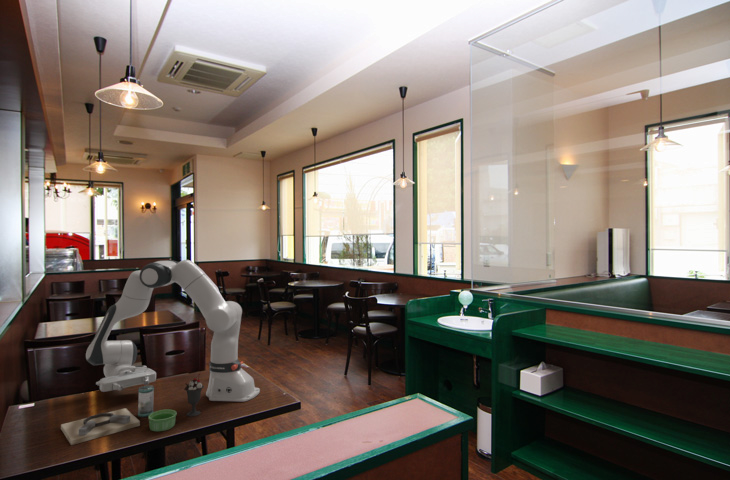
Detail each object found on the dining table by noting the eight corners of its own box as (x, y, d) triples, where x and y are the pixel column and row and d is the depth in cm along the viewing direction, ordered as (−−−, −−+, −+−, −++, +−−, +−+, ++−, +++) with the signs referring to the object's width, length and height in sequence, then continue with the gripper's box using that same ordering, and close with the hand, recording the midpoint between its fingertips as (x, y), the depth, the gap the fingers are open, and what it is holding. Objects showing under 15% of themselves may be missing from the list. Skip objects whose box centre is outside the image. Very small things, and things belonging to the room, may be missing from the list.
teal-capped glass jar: (156, 412, 155) (157, 386, 155) (146, 417, 150) (147, 390, 150) (144, 410, 156) (145, 384, 156) (134, 416, 151) (135, 389, 151)
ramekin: (156, 420, 148) (157, 408, 148) (181, 421, 148) (181, 409, 148) (142, 432, 139) (142, 419, 139) (168, 433, 139) (168, 420, 139)
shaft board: (125, 412, 154) (125, 402, 154) (139, 425, 143) (140, 415, 143) (60, 428, 140) (61, 418, 140) (71, 445, 129) (71, 434, 129)
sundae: (206, 411, 156) (207, 372, 156) (194, 418, 150) (195, 378, 150) (193, 409, 158) (194, 370, 158) (180, 415, 152) (181, 376, 152)
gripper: (95, 374, 163) (104, 383, 154) (149, 364, 178) (161, 372, 169) (94, 390, 163) (104, 400, 154) (148, 379, 178) (160, 387, 168)
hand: (134, 385), depth 161 cm, fingers open, 8 cm apart
